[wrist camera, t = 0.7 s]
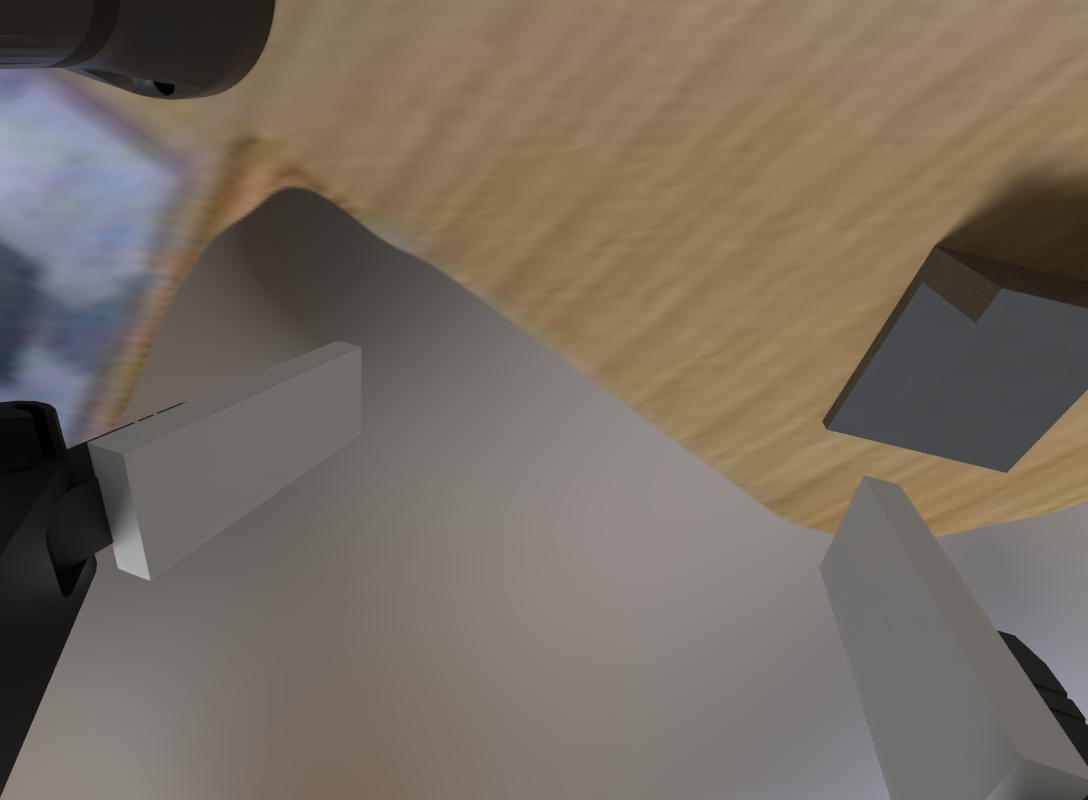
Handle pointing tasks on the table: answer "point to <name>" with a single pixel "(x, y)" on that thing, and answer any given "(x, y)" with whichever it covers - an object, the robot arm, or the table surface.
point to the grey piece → (971, 362)
